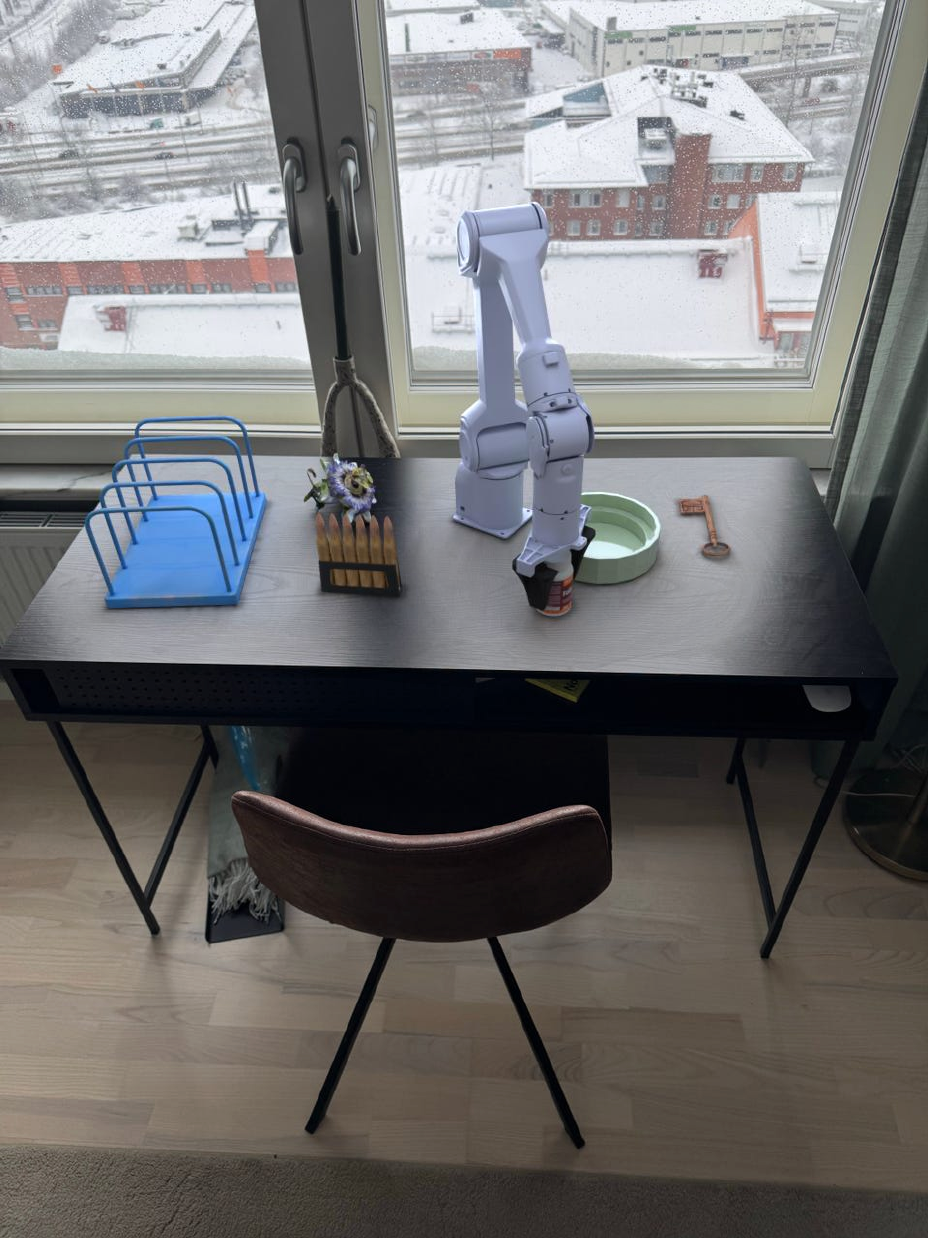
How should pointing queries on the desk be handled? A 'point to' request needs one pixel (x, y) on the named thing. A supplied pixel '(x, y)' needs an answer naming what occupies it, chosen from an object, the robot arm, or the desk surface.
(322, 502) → the passion flower
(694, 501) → the key
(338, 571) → the ammunition clip
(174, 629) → the desk surface
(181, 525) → the file sorter
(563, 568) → the pill bottle
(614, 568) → the bowl
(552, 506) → the robot arm
